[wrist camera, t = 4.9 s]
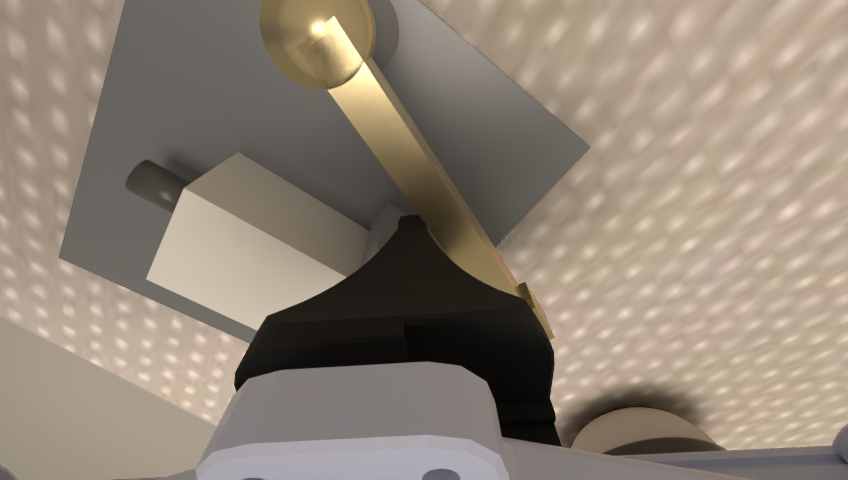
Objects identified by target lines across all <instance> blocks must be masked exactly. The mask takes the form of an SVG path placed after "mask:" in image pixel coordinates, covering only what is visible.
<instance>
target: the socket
mask: <svg viewBox="0 0 848 480" xmlns="http://www.w3.org/2000/svg"><path fill="white" fill-rule="evenodd" d="M366 1H367V3H368V4H369V6H370V8H371V11H372V13H373V17H374V20H375V26H376V44H375V49H374V52H373V55H372V59H373V60H374V62H375V63H376V65H377V66H378V68H379V69H380V71H381V73H382V74H383V76H384V77H385V79H386V80H387V82H388V83H389V85H390V86H391V88H392V90H393V91H394V93H395V94H396V96H397V97H398V99H399V100H400V102H401V103H402V105H403V107H404V108H405V110H406V111H407V113H408V114H409V116H410V117H411V119H412V120H413V122H414V124H415V125H416V127H417V128H418V130H419V131H420V133H421V134H422V136H423V137H424V139H425V141H426V142H427V144H428V145H429V147H430V148H431V150H432V151H433V153H434V154H435V156H436V158H437V159H438V161H439V162H440V164H441V165H442V167H443V168H444V170H445V171H446V173H447V175H448V176H449V178H450V179H451V181H452V182H453V184H454V185H455V187H456V188H457V190H458V192H459V193H460V195H461V196H462V198H463V199H464V201H465V202H466V204H467V205H468V207H469V209H470V210H471V212H472V213H473V215H474V216H475V218H476V219H477V221H478V222H479V224H480V226H481V227H482V229H483V230H484V232H485V233H486V235H487V236H488V238H489V239H490V241H491V243H492V244H493V246H494V247H496V246H497V245H498V244H499V243H500V242H501V241H502V239H503V238H504V237H505V236H506V235H507V234H508V233H509V232H510V231H511V230H512V229H513V228H514V227H515V226H516V225H517V224H518V223H519V222H520V221H521V220H522V219H523V217H524V216H525V215H526V214H527V213H528V212H529V211H530V210H531V209H532V208H533V207H534V206H535V205H536V204H537V203H538V202H539V201H540V200H541V199H542V198H543V197H544V195H545V194H546V193H547V192H548V191H549V190H550V189H551V188H552V187H553V186H554V185H555V184H556V183H557V182H558V181H559V180H560V179H561V178H562V177H563V176H564V175H565V173H566V172H567V171H568V170H569V169H570V168H571V167H572V166H573V165H574V164H575V163H576V162H577V161H578V160H579V159H580V158H581V157H582V156H583V155H584V154H585V153H586V151H587V150H588V149H589V148H590V146H589V145H588V144H587V143H585V142H584V141H583V140H582V139H581V138H580V137H578V136H577V135H576V134H575V133H574V132H572V131H571V130H570V129H569V128H568V127H567V126H565V125H564V124H563V123H562V122H561V121H560V120H558V119H557V118H556V117H555V116H554V115H552V114H551V113H550V112H549V111H548V110H547V109H545V108H544V107H543V106H542V105H541V104H539V103H538V102H537V101H536V100H535V99H534V98H532V97H531V96H530V95H529V94H528V93H527V92H525V91H524V90H523V89H522V88H521V87H519V86H518V85H517V84H516V83H515V82H514V81H512V80H511V79H510V78H509V77H508V76H507V75H505V74H504V73H503V72H502V71H501V70H499V69H498V68H497V67H496V66H495V65H494V64H492V63H491V62H490V61H489V60H488V59H487V58H485V57H484V56H483V55H482V54H481V53H479V52H478V51H477V50H476V49H475V48H474V47H472V46H471V45H470V44H469V43H468V42H466V41H465V40H464V39H463V38H462V37H461V36H459V35H458V34H457V33H456V32H455V31H454V30H452V29H451V28H450V27H449V26H448V25H446V24H445V23H444V22H443V21H442V20H441V19H439V18H438V17H437V16H436V15H435V14H434V13H432V12H431V11H430V10H429V9H428V8H426V7H425V6H424V5H423V4H422V3H421V2H419V1H418V0H366ZM261 2H262V0H125V4H124V8H123V12H122V15H121V19H120V23H119V27H118V31H117V35H116V39H115V42H114V46H113V50H112V54H111V58H110V62H109V66H108V69H107V73H106V77H105V81H104V85H103V89H102V93H101V96H100V100H99V104H98V108H97V112H96V116H95V120H94V123H93V127H92V131H91V135H90V139H89V143H88V147H87V150H86V154H85V158H84V162H83V166H82V170H81V174H80V177H79V181H78V185H77V189H76V193H75V197H74V200H73V204H72V208H71V212H70V216H69V220H68V224H67V227H66V231H65V235H64V239H63V243H62V247H61V251H60V254H59V258H61V259H63V260H65V261H67V262H70V263H72V264H74V265H76V266H79V267H81V268H83V269H85V270H87V271H90V272H92V273H94V274H96V275H99V276H101V277H103V278H105V279H107V280H110V281H112V282H114V283H116V284H119V285H121V286H123V287H125V288H128V289H130V290H132V291H134V292H136V293H139V294H141V295H143V296H145V297H148V298H150V299H152V300H154V301H156V302H159V303H161V304H163V305H165V306H168V307H170V308H172V309H174V310H176V311H179V312H181V313H183V314H185V315H188V316H190V317H192V318H194V319H196V320H199V321H201V322H203V323H205V324H208V325H210V326H212V327H214V328H216V329H219V330H221V331H223V332H225V333H228V334H230V335H232V336H234V337H236V338H239V339H241V340H243V341H245V342H248V343H250V344H251V342H252V340H253V338H254V336H255V334H256V332H257V330H255V329H252V328H250V327H248V326H246V325H244V324H242V323H240V322H237V321H235V320H233V319H231V318H229V317H227V316H224V315H222V314H220V313H218V312H216V311H214V310H211V309H209V308H207V307H205V306H203V305H201V304H198V303H196V302H194V301H192V300H190V299H188V298H186V297H183V296H181V295H179V294H177V293H175V292H173V291H170V290H168V289H166V288H164V287H162V286H160V285H157V284H155V283H153V282H151V281H149V280H147V279H146V278H147V275H148V273H149V270H150V268H151V266H152V263H153V261H154V258H155V256H156V254H157V251H158V249H159V246H160V244H161V242H162V239H163V237H164V234H165V232H166V229H167V227H168V225H169V222H170V220H171V217H172V215H173V213H171V212H169V211H167V210H165V209H163V208H161V207H159V206H157V205H155V204H154V203H152V202H150V201H148V200H146V199H144V198H142V197H140V196H138V195H136V194H134V193H133V192H131V191H129V190H127V189H126V188H125V184H126V180H127V178H128V176H129V174H130V173H131V171H132V170H133V169H134V168H135V167H136V166H137V165H138V164H139V163H140V162H142V161H144V160H147V159H148V160H151V161H153V162H154V163H156V164H158V165H160V166H162V167H163V168H165V169H167V170H169V171H171V172H172V173H174V174H176V175H178V176H180V177H181V178H183V179H185V180H187V181H189V182H190V183H192V182H194V181H195V180H197V179H198V178H200V177H201V176H203V175H204V174H206V173H207V172H209V171H210V170H212V169H213V168H215V167H216V166H218V165H219V164H221V163H222V162H224V161H225V160H227V159H228V158H230V157H231V156H233V155H234V154H236V153H237V152H239V153H241V154H242V155H244V156H246V157H247V158H249V159H251V160H252V161H254V162H256V163H257V164H259V165H261V166H262V167H264V168H266V169H267V170H269V171H271V172H272V173H274V174H276V175H277V176H279V177H281V178H282V179H284V180H286V181H287V182H289V183H291V184H292V185H294V186H296V187H297V188H299V189H301V190H302V191H304V192H306V193H307V194H309V195H311V196H312V197H314V198H316V199H317V200H319V201H321V202H322V203H324V204H326V205H327V206H329V207H331V208H332V209H334V210H336V211H337V212H339V213H341V214H342V215H344V216H346V217H347V218H349V219H351V220H352V221H354V222H356V223H357V224H359V225H361V226H362V227H364V228H366V229H367V230H369V231H370V234H369V238H368V242H367V245H366V249H365V252H364V256H363V260H362V263H361V267H362V266H363V265H364V264H366V263H367V262H368V261H369V260H370V259H371V258H372V257H373V256H374V255H375V254H376V253H377V252H378V251H379V250H380V249H381V248H382V247H383V246H384V245H385V244H386V242H387V241H388V240H389V239H390V238H391V236H392V235H393V234H394V233H395V231H396V230H397V229H398V221H399V219H400V217H401V216H408V215H418V213H417V212H416V211H415V209H414V208H413V207H412V205H411V204H410V202H409V201H408V200H407V198H406V197H405V196H404V194H403V193H402V192H401V190H400V189H399V187H398V186H397V185H396V183H395V182H394V181H393V179H392V178H391V176H390V175H389V174H388V172H387V171H386V170H385V168H384V167H383V165H382V164H381V163H380V161H379V160H378V159H377V157H376V156H375V155H374V153H373V152H372V150H371V149H370V148H369V146H368V145H367V144H366V142H365V141H364V139H363V138H362V137H361V135H360V134H359V133H358V131H357V130H356V128H355V127H354V126H353V124H352V123H351V122H350V120H349V119H348V117H347V116H346V115H345V113H344V112H343V111H342V109H341V108H340V107H339V105H338V104H337V102H336V101H335V100H334V98H333V97H332V96H331V94H330V93H329V91H328V90H316V89H311V88H307V87H304V86H302V85H300V84H298V83H296V82H294V81H292V80H291V79H290V78H288V77H287V76H286V75H285V74H284V73H283V72H282V71H280V69H279V68H278V67H277V66H276V65H275V63H274V62H273V60H272V59H271V57H270V56H269V54H268V52H267V50H266V47H265V45H264V42H263V39H262V36H261V30H260V20H259V17H260V7H261ZM427 229H428V227H427ZM428 231H429V233H430V235H431V236H432V237H433V239H434V240H435V242H436V243H437V244H438V246H439V247H440V248H441V249H442V250H443V251H444V253H445V254H446V255H447V253H446V252H445V250H444V249H443V248H442V246H441V245H440V244H439V242H438V241H437V239H436V238H435V237H434V235H433V234H432V233H431V231H430V230H429V229H428ZM447 256H448V255H447ZM448 257H449V256H448ZM449 258H450V257H449ZM361 267H360V268H361Z"/></svg>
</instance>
